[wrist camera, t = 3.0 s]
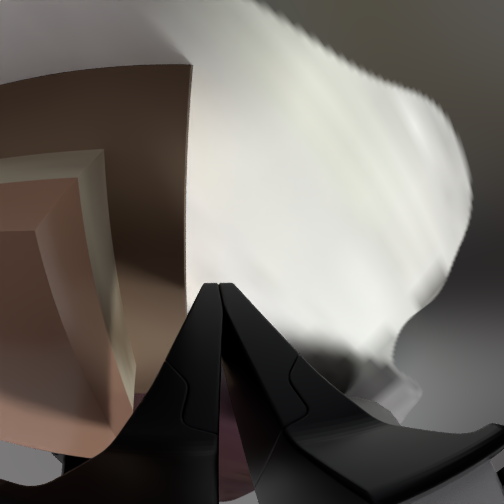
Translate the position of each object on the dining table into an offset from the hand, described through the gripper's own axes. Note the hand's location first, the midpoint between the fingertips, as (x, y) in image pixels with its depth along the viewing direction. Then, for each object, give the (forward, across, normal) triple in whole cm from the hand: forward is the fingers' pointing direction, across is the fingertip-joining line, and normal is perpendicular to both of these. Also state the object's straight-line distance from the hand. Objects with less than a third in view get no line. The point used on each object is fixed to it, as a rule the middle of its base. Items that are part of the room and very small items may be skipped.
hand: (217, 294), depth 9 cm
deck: (+4, +8, 0) cm, 9 cm away
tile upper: (-2, +7, 0) cm, 7 cm away
